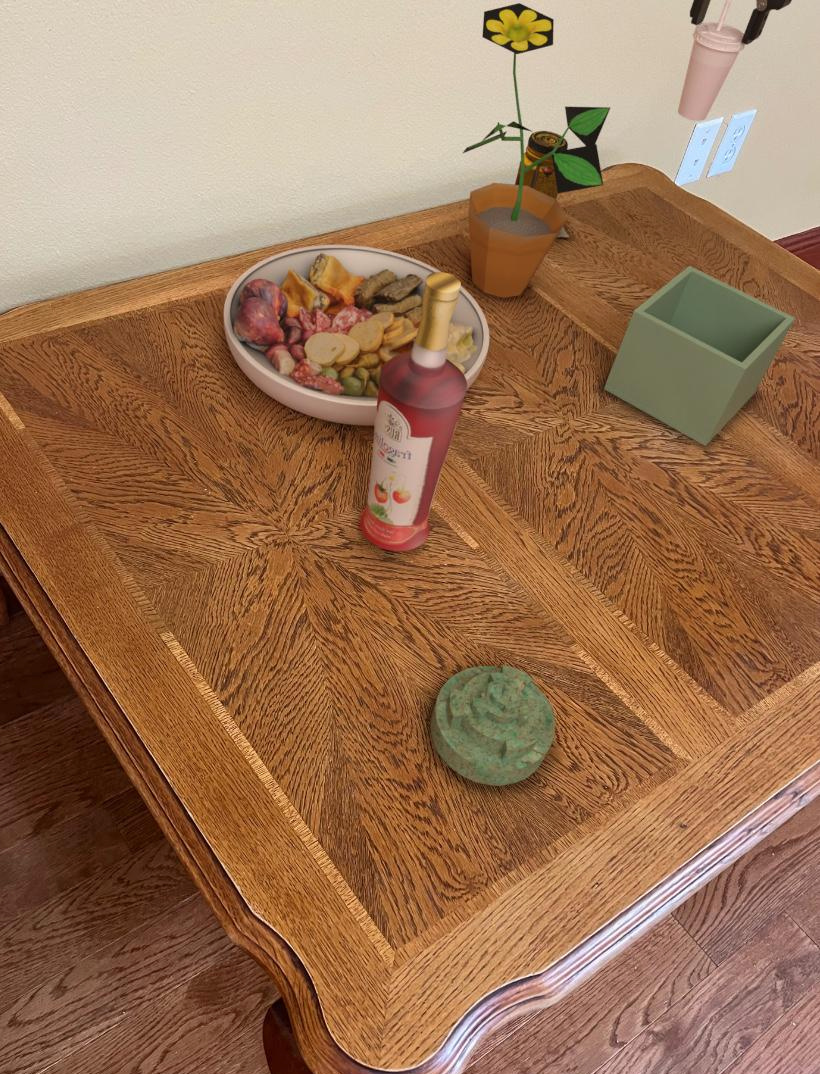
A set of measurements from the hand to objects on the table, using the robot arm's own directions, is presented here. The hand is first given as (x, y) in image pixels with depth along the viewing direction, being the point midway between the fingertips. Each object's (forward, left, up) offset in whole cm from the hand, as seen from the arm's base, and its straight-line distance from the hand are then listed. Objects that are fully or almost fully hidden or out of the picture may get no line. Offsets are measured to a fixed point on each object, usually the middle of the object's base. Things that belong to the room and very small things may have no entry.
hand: (721, 32), depth 114 cm
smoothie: (0, 0, -10) cm, 10 cm away
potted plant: (+27, -7, -27) cm, 39 cm away
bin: (+29, +21, -27) cm, 45 cm away
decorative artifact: (+84, +31, -27) cm, 94 cm away
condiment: (+11, -12, -27) cm, 32 cm away
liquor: (+72, +11, -27) cm, 78 cm away
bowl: (+53, -10, -27) cm, 60 cm away
